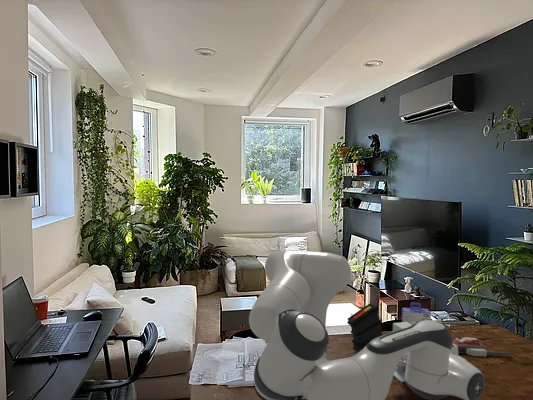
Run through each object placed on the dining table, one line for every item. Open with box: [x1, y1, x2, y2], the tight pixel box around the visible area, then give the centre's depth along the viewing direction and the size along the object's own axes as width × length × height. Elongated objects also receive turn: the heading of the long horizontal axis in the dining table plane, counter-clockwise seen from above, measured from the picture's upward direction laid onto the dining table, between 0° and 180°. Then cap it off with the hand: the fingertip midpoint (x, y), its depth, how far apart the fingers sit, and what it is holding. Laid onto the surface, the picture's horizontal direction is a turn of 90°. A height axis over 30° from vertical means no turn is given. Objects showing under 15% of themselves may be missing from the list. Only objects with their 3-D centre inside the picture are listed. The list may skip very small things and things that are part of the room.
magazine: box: [346, 303, 383, 350], centre depth 140 cm, size 4×13×15 cm, turn 111°
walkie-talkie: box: [453, 336, 511, 358], centre depth 136 cm, size 9×4×20 cm
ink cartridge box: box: [401, 301, 432, 324], centre depth 143 cm, size 10×6×14 cm, turn 77°
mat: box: [393, 367, 406, 383], centre depth 121 cm, size 10×12×1 cm
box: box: [392, 321, 412, 371], centre depth 121 cm, size 5×5×13 cm
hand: (402, 341), depth 122 cm, fingers closed on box, 5 cm apart
